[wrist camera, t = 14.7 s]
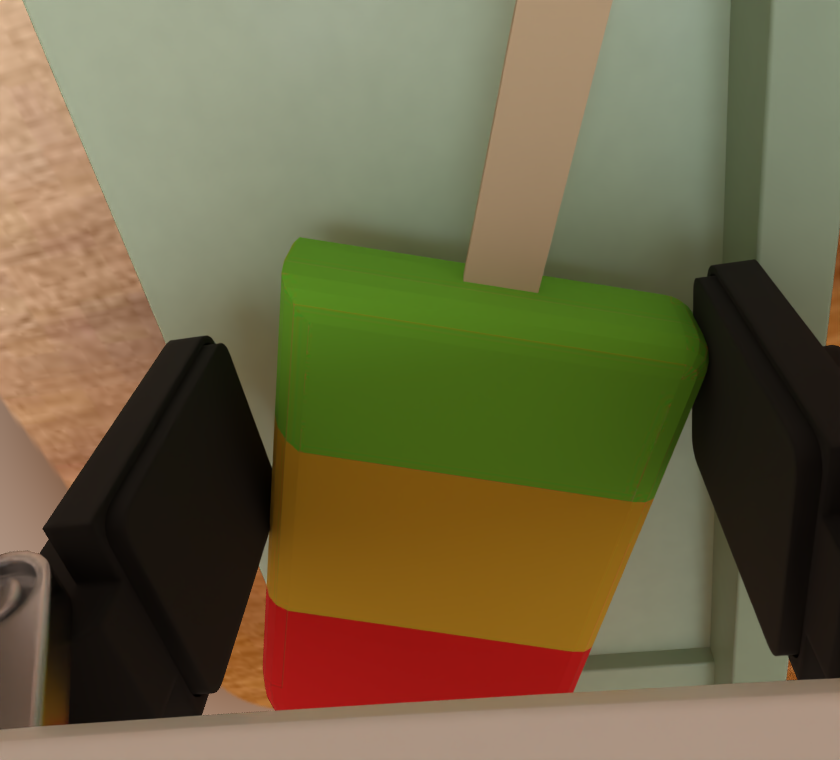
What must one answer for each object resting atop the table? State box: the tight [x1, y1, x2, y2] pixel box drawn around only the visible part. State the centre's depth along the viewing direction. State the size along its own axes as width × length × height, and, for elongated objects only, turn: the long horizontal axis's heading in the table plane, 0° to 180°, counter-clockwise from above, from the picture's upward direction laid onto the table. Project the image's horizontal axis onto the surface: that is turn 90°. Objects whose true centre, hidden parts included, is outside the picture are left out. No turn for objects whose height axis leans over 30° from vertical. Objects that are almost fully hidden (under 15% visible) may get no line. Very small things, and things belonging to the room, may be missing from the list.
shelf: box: [23, 0, 840, 693], centre depth 15 cm, size 19×10×8 cm, turn 10°
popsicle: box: [263, 0, 709, 711], centre depth 11 cm, size 6×15×2 cm, turn 172°
